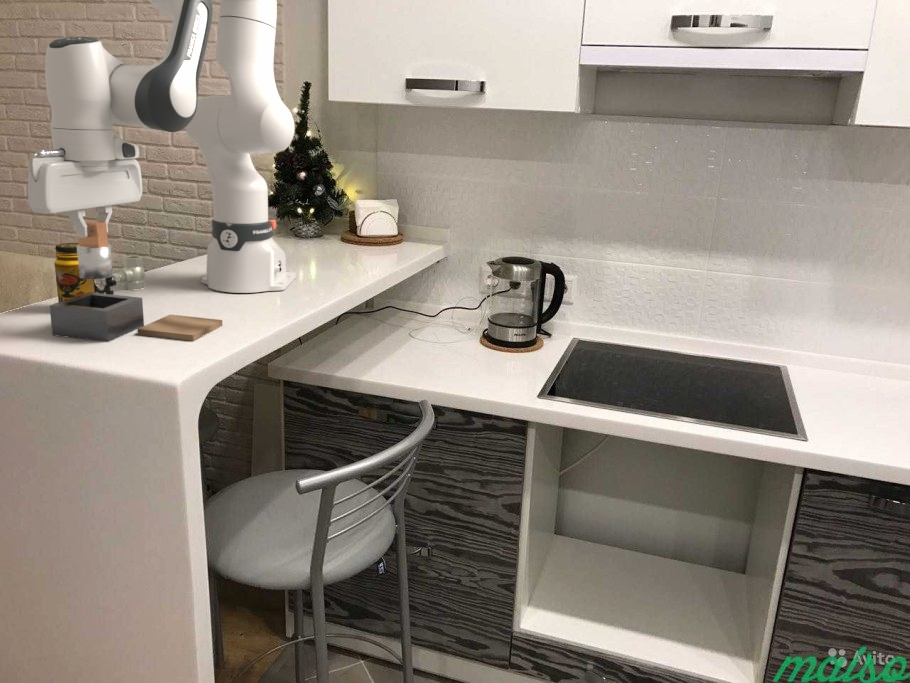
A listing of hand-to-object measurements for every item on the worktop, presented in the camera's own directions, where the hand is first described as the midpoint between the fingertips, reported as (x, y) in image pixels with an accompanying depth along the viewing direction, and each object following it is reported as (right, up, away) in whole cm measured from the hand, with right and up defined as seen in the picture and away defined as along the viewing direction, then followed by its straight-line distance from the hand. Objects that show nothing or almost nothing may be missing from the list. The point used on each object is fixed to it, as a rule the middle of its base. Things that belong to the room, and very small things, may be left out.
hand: (92, 235), depth 122 cm
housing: (-1, -15, +4) cm, 16 cm away
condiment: (-11, -11, +17) cm, 23 cm away
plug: (0, -6, +2) cm, 7 cm away
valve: (-9, -7, +30) cm, 32 cm away
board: (+12, -15, +7) cm, 20 cm away
